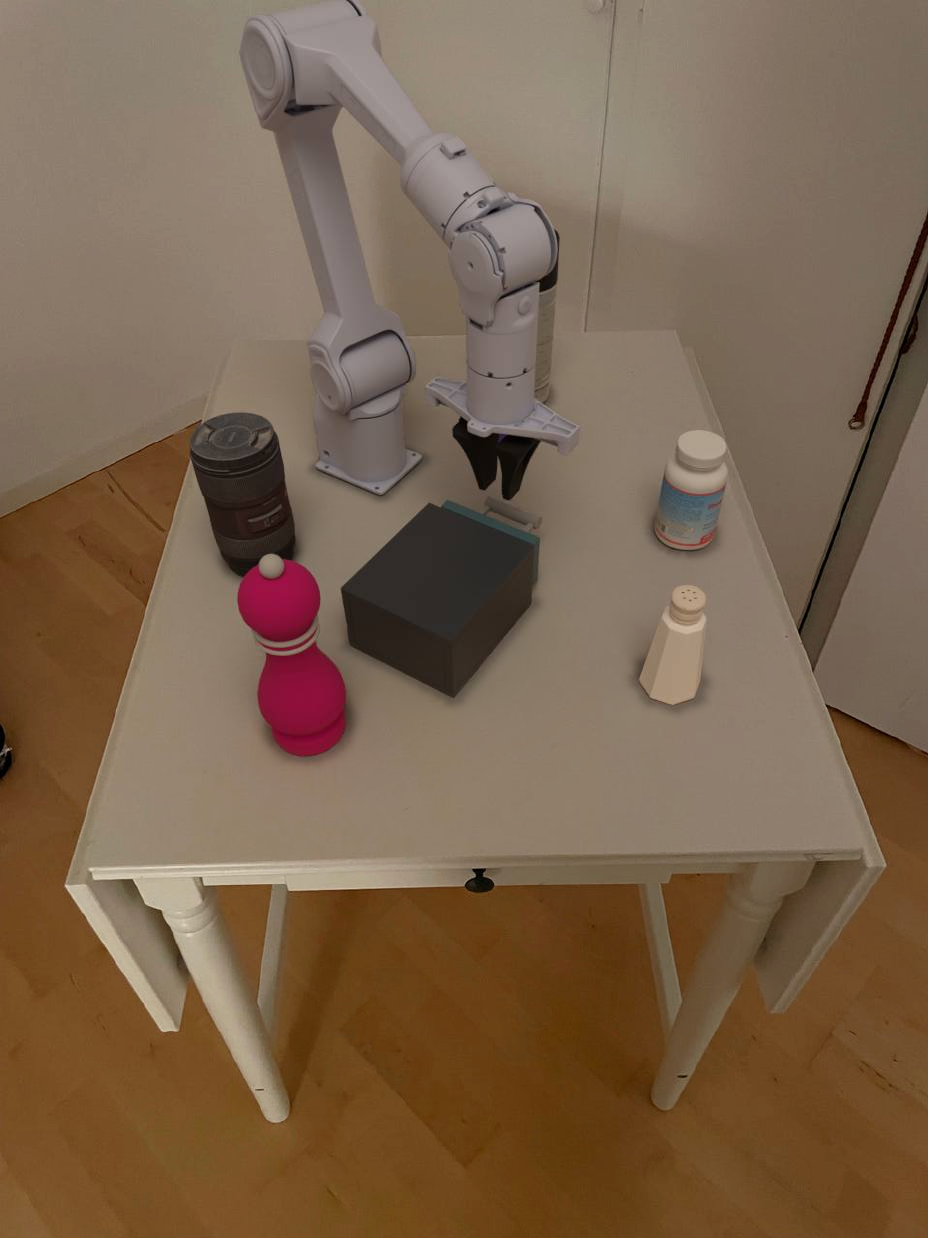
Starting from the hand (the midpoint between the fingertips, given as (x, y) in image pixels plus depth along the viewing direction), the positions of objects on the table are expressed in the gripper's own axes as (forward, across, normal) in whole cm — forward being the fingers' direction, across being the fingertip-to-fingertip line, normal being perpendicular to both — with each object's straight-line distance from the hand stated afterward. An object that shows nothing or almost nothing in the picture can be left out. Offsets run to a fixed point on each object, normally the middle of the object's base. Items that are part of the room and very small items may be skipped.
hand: (499, 489), depth 85 cm
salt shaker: (+10, +21, -5) cm, 24 cm away
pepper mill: (+10, -3, -26) cm, 28 cm away
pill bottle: (+10, +14, +14) cm, 22 cm away
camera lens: (+10, -21, -12) cm, 26 cm away
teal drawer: (+8, 0, -5) cm, 10 cm away
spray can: (+10, -13, +27) cm, 31 cm away
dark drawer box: (+9, 0, -10) cm, 14 cm away
